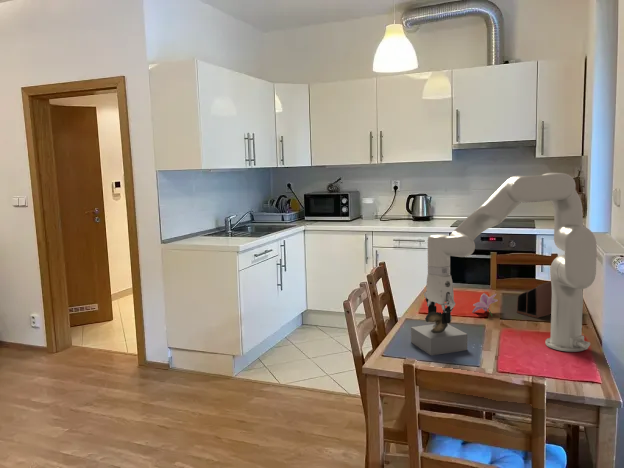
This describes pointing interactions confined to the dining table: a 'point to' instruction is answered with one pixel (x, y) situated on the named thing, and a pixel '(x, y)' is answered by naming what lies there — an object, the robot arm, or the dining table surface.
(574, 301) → the robot arm
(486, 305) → the lily
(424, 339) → the gray block
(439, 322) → the eagle figurine
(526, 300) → the letter holder
